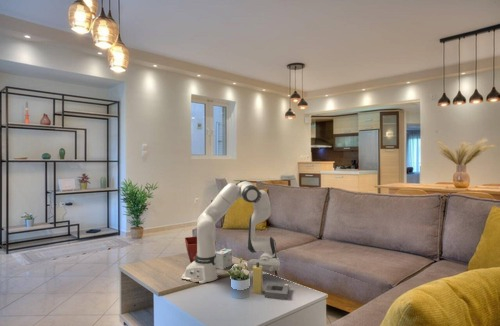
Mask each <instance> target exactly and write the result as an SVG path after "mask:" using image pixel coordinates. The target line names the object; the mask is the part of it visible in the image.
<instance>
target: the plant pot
mask: <svg viewBox="0 0 500 326" xmlns="http://www.w3.org/2000/svg"><path fill="white" fill-rule="evenodd" d="M184 242H185V248H186V252H187V256H188V259H189V262H190V264H191V263H192V262H193V261H195V259H194V257H195V255H196V254H197V235H196V236H186V237H184ZM216 245H217V243H216V240H215V246H216Z"/></svg>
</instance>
